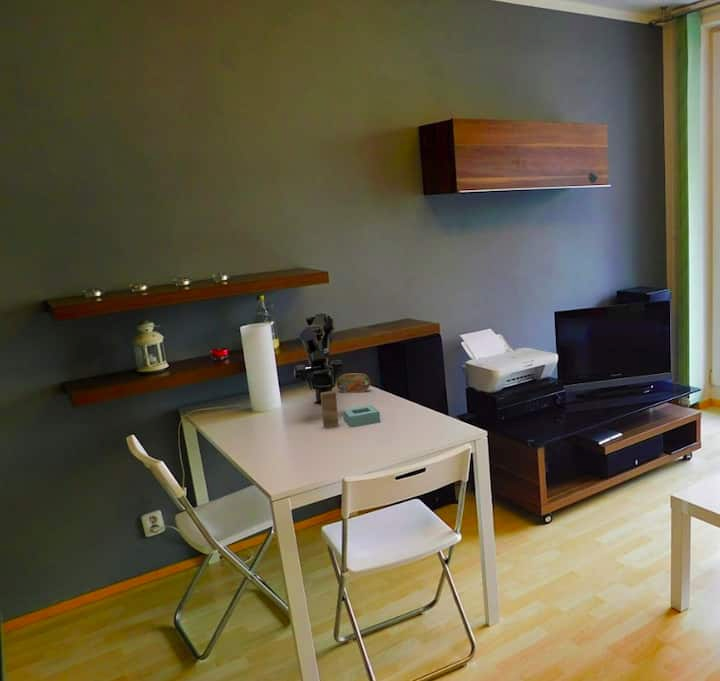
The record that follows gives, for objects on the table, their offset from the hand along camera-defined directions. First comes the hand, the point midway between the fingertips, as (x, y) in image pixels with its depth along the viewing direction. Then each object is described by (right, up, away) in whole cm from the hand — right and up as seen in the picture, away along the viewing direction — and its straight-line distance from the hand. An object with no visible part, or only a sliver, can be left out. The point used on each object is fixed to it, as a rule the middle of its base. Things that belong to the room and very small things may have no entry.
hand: (323, 387), depth 231 cm
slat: (+3, -14, -5) cm, 15 cm away
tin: (+11, -5, +40) cm, 42 cm away
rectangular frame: (+15, -12, -1) cm, 19 cm away
